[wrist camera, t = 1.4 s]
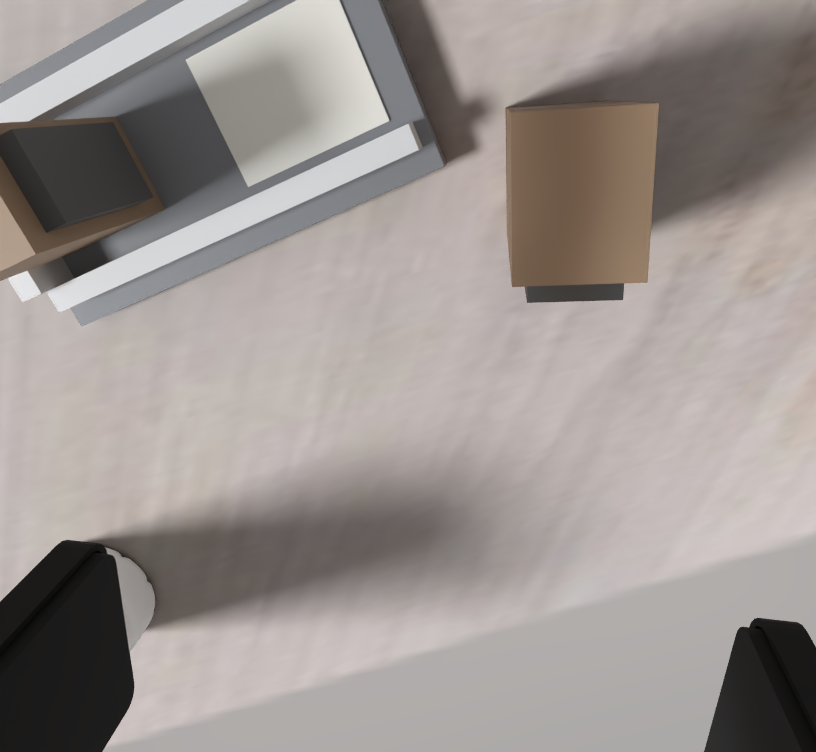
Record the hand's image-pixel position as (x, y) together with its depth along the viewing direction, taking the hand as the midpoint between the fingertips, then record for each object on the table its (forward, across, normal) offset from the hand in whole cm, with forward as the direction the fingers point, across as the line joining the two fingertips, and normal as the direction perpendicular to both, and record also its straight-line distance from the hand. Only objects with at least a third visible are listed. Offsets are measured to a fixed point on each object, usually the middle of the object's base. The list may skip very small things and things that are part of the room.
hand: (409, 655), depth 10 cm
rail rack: (+22, +12, -6) cm, 25 cm away
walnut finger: (+22, -3, -5) cm, 23 cm away
